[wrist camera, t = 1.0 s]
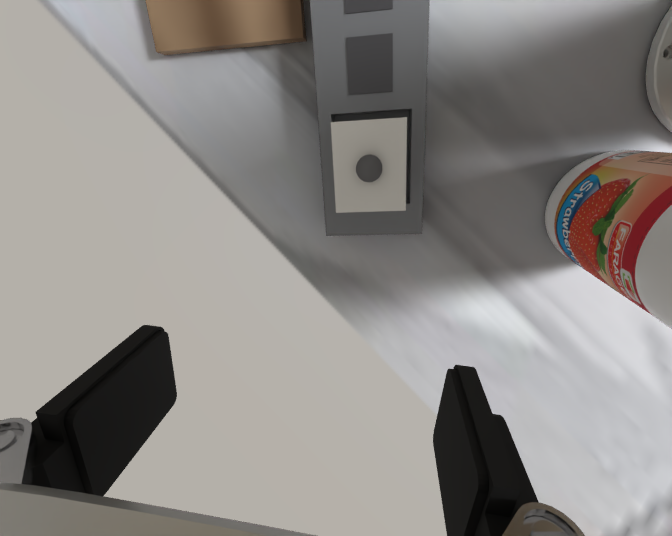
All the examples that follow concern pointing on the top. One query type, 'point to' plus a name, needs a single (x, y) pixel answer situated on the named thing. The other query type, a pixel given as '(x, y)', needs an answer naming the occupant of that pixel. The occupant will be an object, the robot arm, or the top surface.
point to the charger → (370, 165)
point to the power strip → (372, 94)
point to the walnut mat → (224, 24)
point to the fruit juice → (619, 224)
